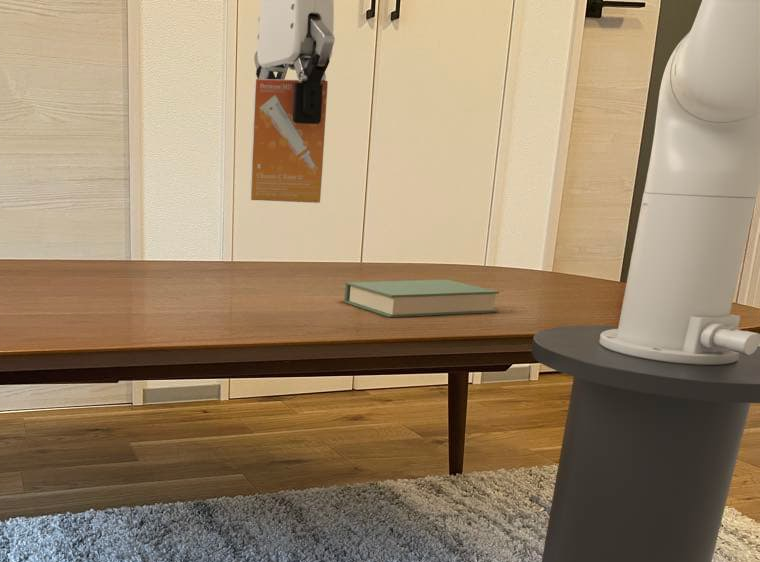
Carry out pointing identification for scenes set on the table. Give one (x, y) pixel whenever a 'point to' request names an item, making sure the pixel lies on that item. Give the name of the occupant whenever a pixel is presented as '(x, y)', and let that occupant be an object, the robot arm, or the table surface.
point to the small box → (285, 146)
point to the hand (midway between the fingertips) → (287, 124)
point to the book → (420, 297)
